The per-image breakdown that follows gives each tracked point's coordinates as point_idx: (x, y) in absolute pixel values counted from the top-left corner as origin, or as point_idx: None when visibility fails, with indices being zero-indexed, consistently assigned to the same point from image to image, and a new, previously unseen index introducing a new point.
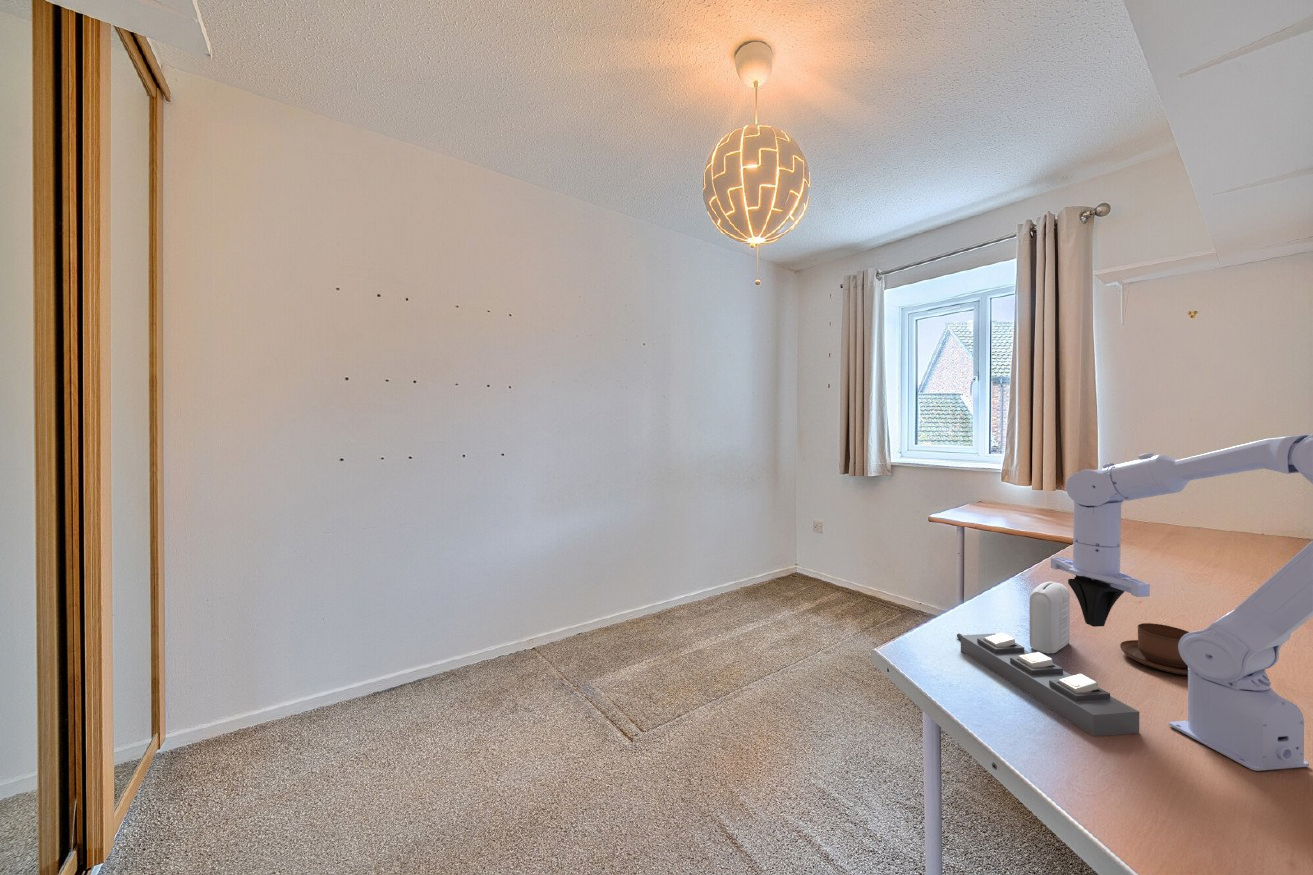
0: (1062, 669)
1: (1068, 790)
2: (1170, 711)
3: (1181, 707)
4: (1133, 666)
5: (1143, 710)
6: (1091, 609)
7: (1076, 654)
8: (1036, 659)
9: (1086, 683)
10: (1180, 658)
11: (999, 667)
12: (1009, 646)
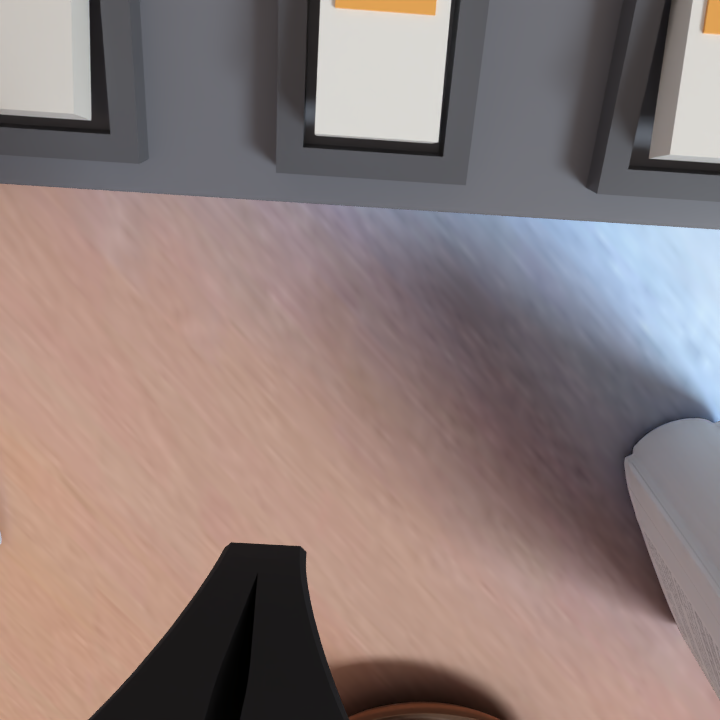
0: (276, 166)
1: None
2: (84, 464)
3: (112, 531)
4: (428, 666)
5: (94, 368)
6: (173, 655)
7: (585, 561)
8: (357, 26)
9: None
10: None
11: None
12: None
